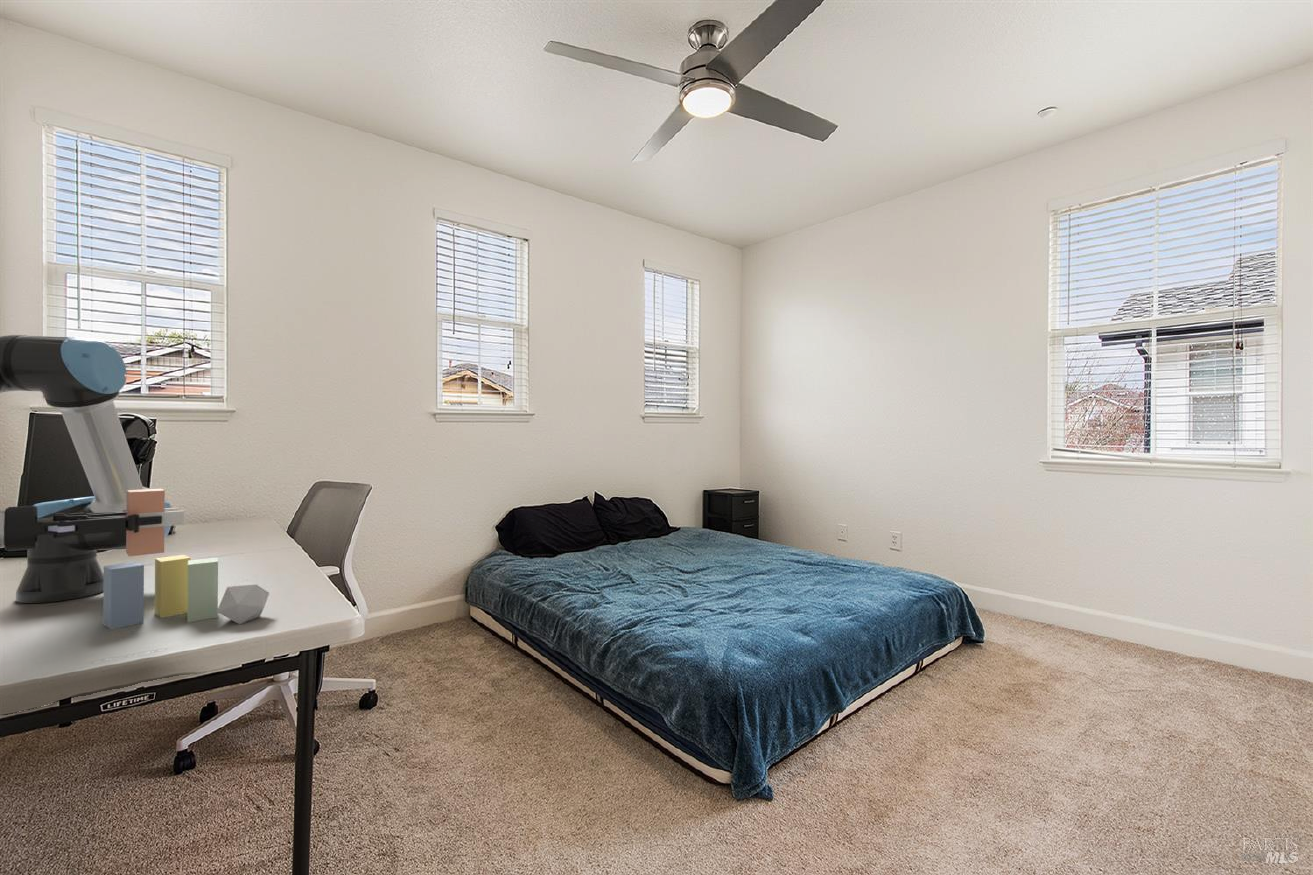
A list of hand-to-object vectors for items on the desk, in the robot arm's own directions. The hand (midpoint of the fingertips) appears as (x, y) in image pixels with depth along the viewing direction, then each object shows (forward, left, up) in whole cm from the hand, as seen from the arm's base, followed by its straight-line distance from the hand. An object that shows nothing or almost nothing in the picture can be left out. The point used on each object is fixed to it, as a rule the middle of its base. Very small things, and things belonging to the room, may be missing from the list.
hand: (180, 515), depth 113 cm
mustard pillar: (-16, +1, -23) cm, 28 cm away
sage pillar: (-8, +5, -23) cm, 25 cm away
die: (+1, +10, -23) cm, 25 cm away
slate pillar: (-14, -7, -23) cm, 28 cm away
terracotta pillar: (0, -5, -6) cm, 8 cm away
